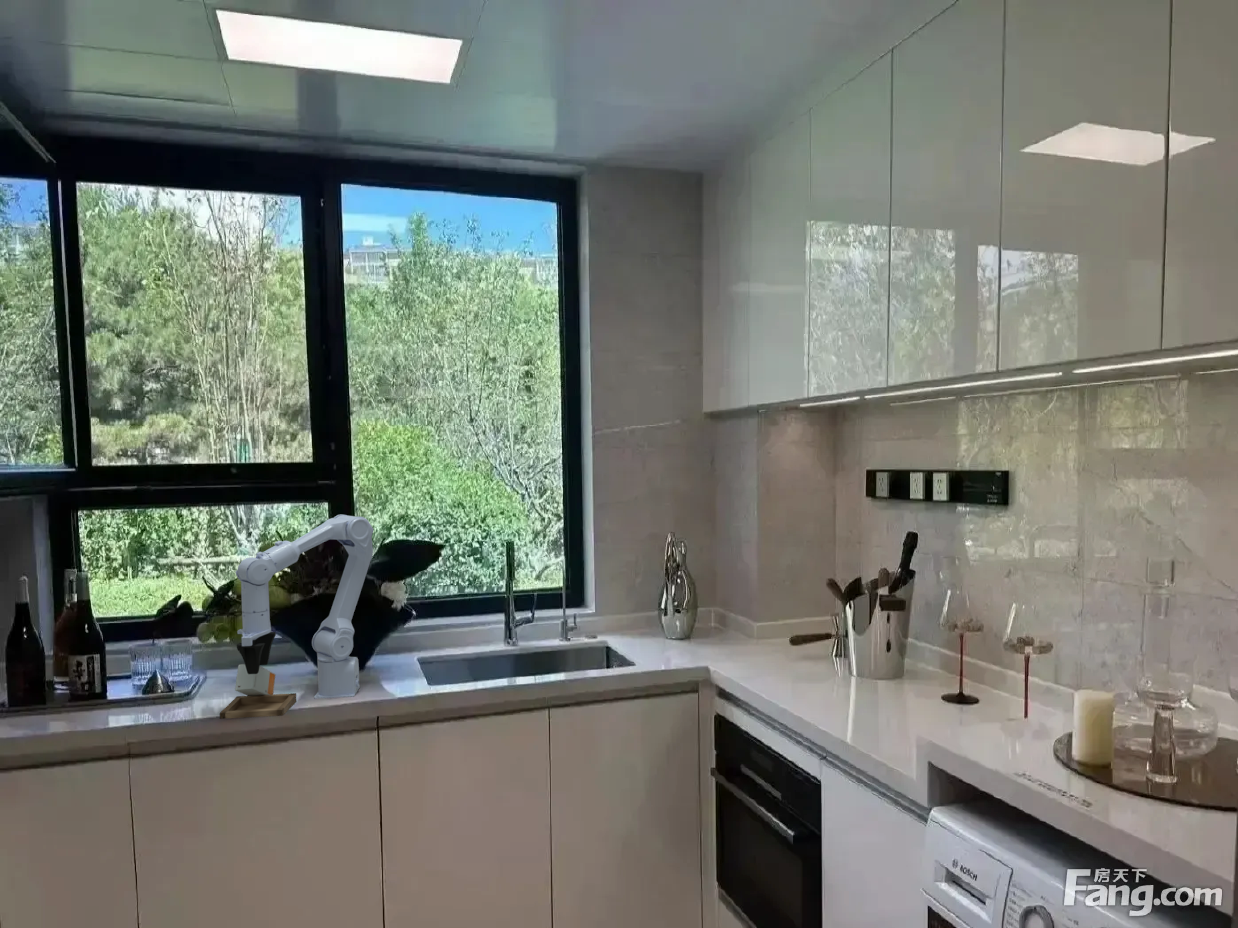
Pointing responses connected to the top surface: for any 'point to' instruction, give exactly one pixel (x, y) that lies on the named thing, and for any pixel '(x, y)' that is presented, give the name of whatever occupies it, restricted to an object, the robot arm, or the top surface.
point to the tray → (259, 706)
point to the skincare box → (255, 681)
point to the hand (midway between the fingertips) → (257, 668)
